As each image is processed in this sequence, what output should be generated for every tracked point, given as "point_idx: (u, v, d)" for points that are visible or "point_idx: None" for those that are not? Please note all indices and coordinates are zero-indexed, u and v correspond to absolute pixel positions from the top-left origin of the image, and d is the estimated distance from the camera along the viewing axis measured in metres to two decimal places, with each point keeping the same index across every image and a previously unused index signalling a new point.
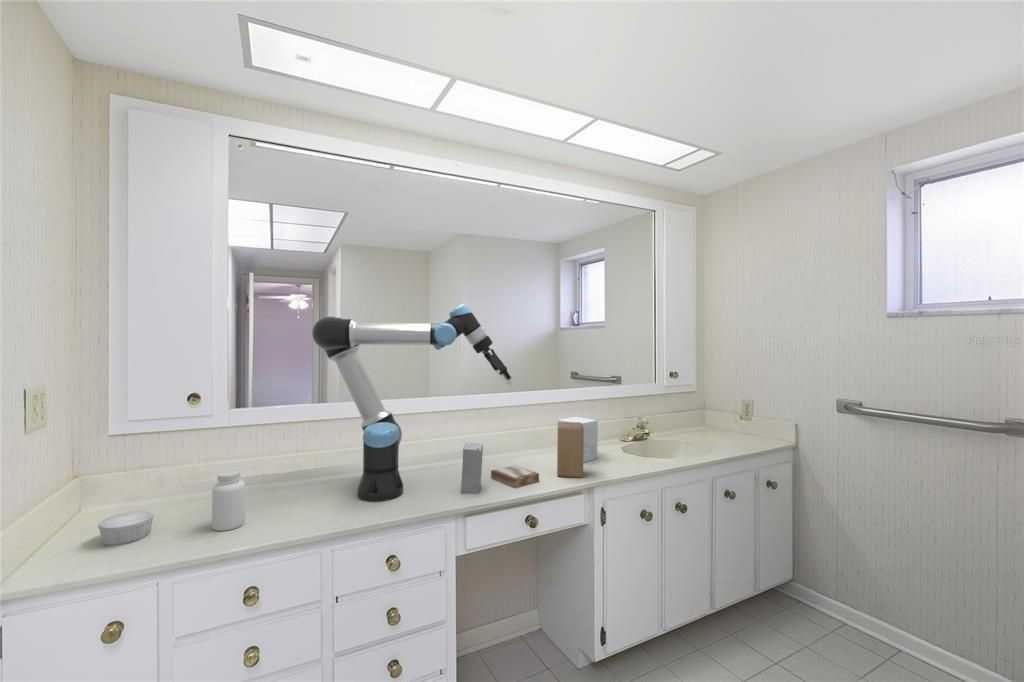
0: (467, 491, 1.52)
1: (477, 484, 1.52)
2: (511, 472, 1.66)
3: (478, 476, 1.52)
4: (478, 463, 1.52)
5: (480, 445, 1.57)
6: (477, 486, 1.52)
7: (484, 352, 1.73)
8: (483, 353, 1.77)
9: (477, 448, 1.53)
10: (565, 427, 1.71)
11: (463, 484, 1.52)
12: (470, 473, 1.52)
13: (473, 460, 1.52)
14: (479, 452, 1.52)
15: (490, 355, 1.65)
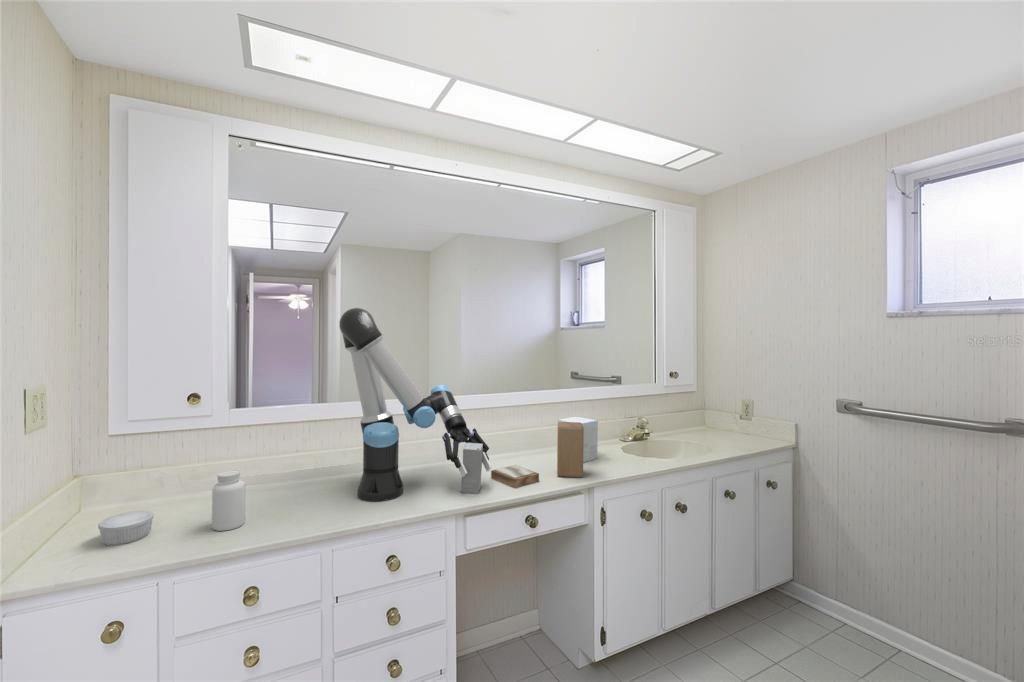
0: (467, 491, 1.52)
1: (477, 484, 1.52)
2: (511, 472, 1.66)
3: (478, 476, 1.52)
4: (478, 463, 1.52)
5: (480, 445, 1.57)
6: (477, 486, 1.52)
7: (456, 429, 1.62)
8: (446, 434, 1.58)
9: (477, 448, 1.53)
10: (565, 427, 1.71)
11: (463, 484, 1.52)
12: (470, 473, 1.52)
13: (473, 460, 1.52)
14: (479, 452, 1.52)
15: None
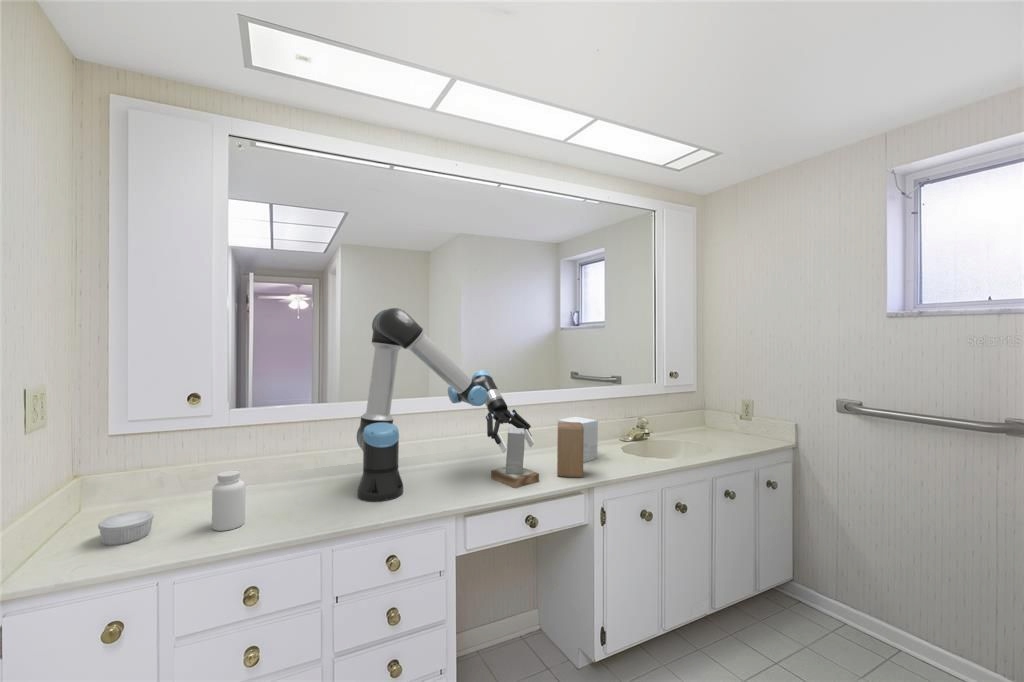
0: (511, 472, 1.64)
1: (521, 465, 1.64)
2: None
3: (522, 458, 1.64)
4: (522, 446, 1.63)
5: (522, 429, 1.69)
6: (521, 467, 1.64)
7: (499, 412, 1.73)
8: (489, 414, 1.69)
9: (520, 432, 1.65)
10: (565, 427, 1.71)
11: (507, 466, 1.64)
12: (514, 455, 1.64)
13: (517, 443, 1.63)
14: (523, 435, 1.63)
15: None
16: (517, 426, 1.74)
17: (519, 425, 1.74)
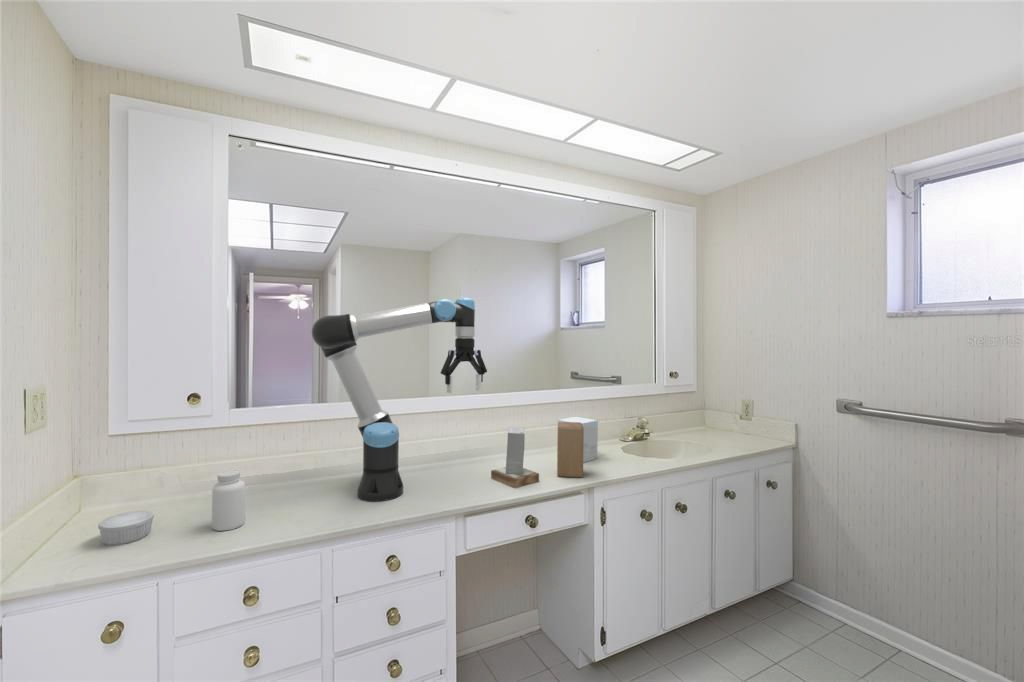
0: (511, 472, 1.64)
1: (521, 465, 1.64)
2: None
3: (522, 458, 1.64)
4: (522, 446, 1.63)
5: (522, 429, 1.69)
6: (521, 467, 1.64)
7: (463, 351, 1.71)
8: (452, 352, 1.68)
9: (520, 432, 1.65)
10: (565, 427, 1.71)
11: (507, 466, 1.64)
12: (514, 455, 1.64)
13: (517, 443, 1.63)
14: (523, 435, 1.63)
15: None
16: (474, 367, 1.76)
17: (476, 368, 1.76)
